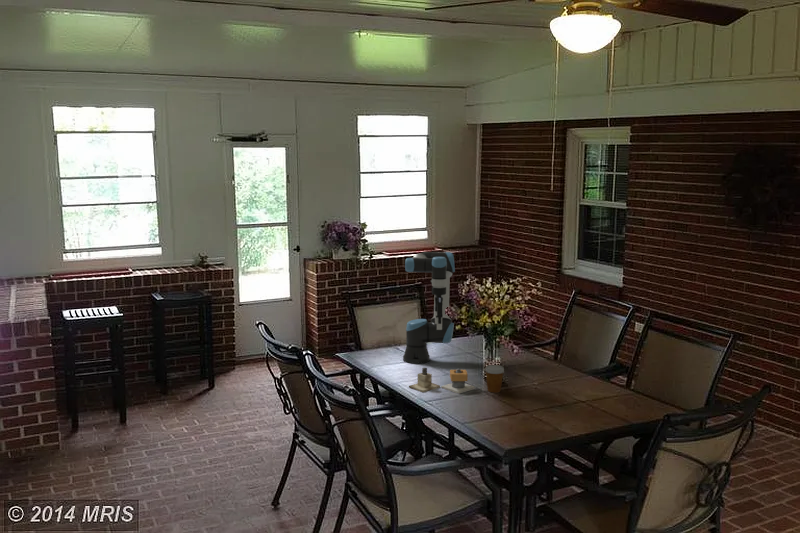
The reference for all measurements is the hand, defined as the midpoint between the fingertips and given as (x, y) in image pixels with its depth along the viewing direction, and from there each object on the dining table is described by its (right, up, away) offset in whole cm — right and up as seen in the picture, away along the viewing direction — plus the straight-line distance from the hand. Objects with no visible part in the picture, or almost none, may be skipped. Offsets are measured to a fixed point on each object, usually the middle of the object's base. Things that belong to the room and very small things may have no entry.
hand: (438, 326), depth 385 cm
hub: (+9, -30, -17) cm, 35 cm away
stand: (-8, -29, -16) cm, 34 cm away
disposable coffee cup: (+27, -30, -20) cm, 45 cm away
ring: (+9, -25, -18) cm, 32 cm away
